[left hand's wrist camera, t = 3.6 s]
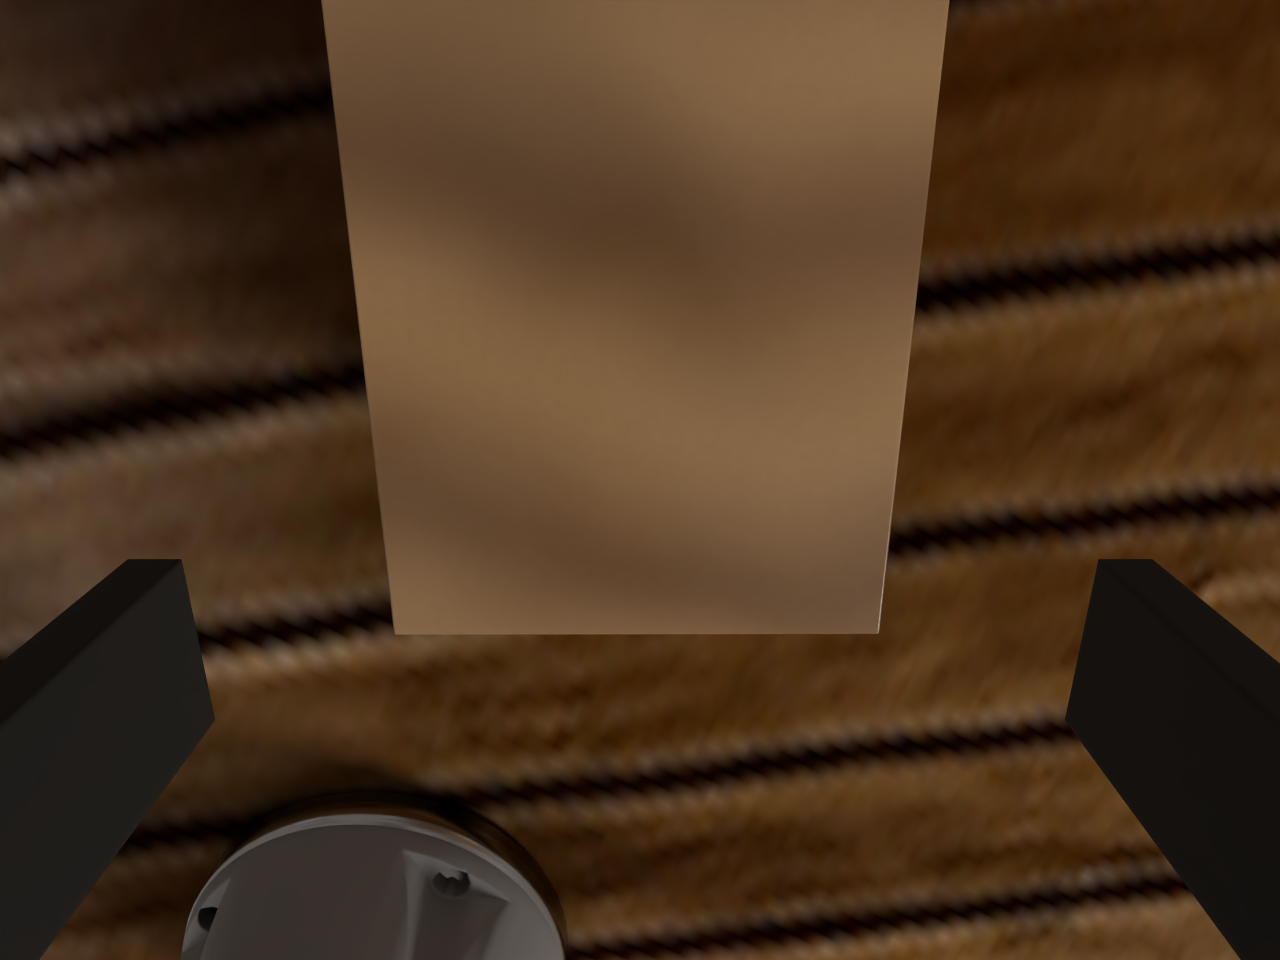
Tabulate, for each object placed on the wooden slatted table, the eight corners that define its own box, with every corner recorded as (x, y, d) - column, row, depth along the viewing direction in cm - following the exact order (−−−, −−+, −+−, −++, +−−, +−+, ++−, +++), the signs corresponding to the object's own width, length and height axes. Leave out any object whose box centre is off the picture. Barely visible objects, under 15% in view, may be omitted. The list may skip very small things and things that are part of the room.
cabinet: (428, -203, 23) (265, -473, 13) (843, -203, 23) (1003, -472, 13) (476, 468, 30) (393, 635, 20) (797, 468, 30) (879, 634, 20)
